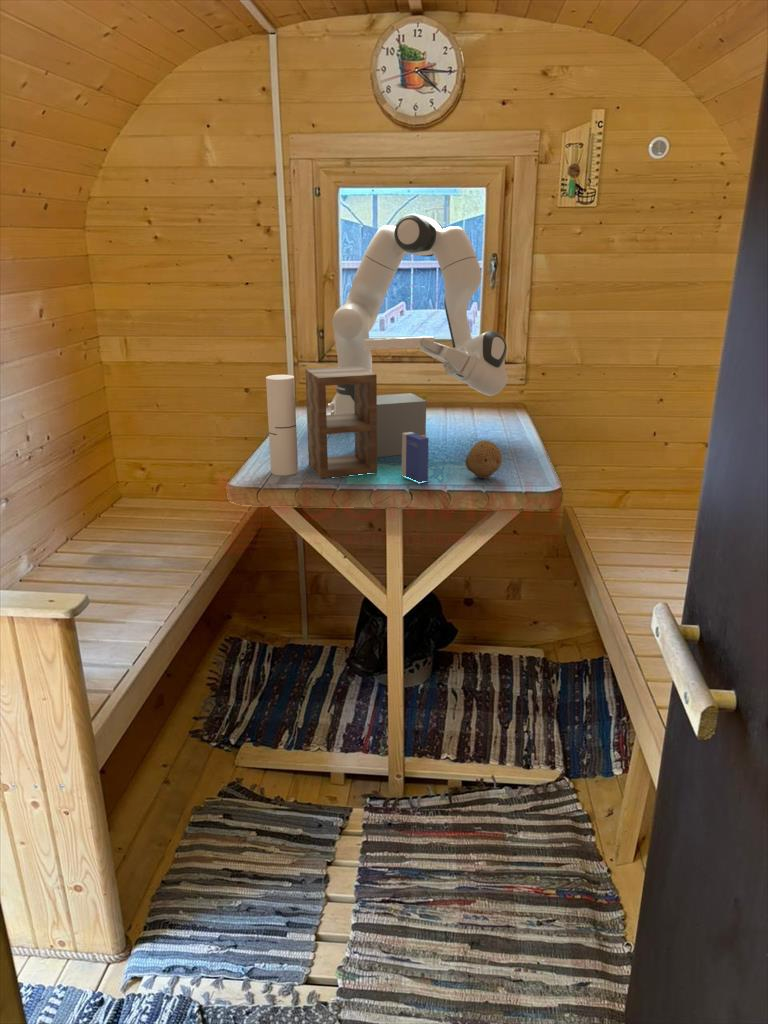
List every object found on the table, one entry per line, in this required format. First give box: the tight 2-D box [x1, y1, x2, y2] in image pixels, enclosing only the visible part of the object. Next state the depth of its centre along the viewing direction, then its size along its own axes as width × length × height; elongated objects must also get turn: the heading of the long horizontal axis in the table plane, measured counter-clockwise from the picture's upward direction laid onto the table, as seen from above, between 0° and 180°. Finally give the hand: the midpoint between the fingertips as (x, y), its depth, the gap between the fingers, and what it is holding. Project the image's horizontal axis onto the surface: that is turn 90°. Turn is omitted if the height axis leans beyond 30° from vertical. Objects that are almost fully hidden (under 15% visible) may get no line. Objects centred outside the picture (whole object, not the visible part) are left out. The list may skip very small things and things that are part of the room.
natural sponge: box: [464, 440, 503, 480], centre depth 193 cm, size 9×9×10 cm
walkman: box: [401, 432, 430, 482], centre depth 193 cm, size 8×3×12 cm, turn 33°
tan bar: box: [364, 335, 436, 351], centre depth 212 cm, size 3×20×3 cm, turn 108°
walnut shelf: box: [304, 366, 378, 480], centre depth 199 cm, size 14×15×26 cm
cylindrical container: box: [265, 374, 299, 476], centre depth 197 cm, size 7×7×25 cm
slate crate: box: [377, 392, 427, 458], centre depth 219 cm, size 12×16×15 cm
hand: (420, 340), depth 213 cm, fingers closed on tan bar, 3 cm apart
